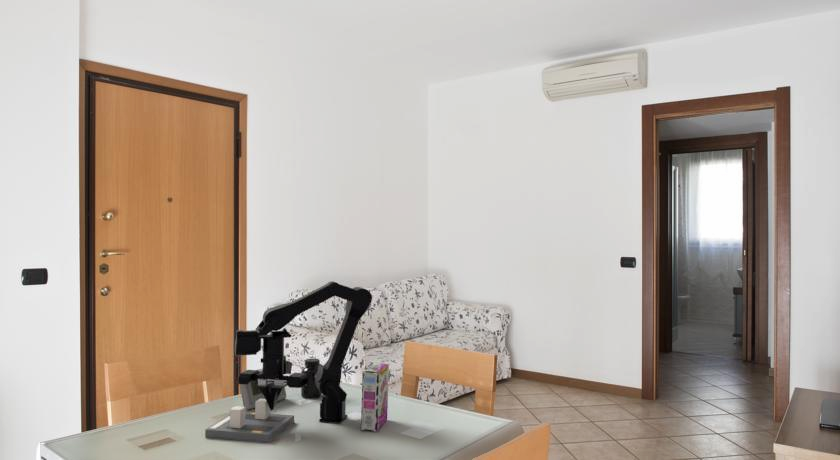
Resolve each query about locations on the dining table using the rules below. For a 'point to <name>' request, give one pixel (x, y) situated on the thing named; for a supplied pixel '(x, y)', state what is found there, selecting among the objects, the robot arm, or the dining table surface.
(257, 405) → the switch tab
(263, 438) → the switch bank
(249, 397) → the digital clock
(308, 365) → the supplement bottle
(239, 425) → the switch tab
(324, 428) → the dining table surface
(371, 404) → the candy bar box
